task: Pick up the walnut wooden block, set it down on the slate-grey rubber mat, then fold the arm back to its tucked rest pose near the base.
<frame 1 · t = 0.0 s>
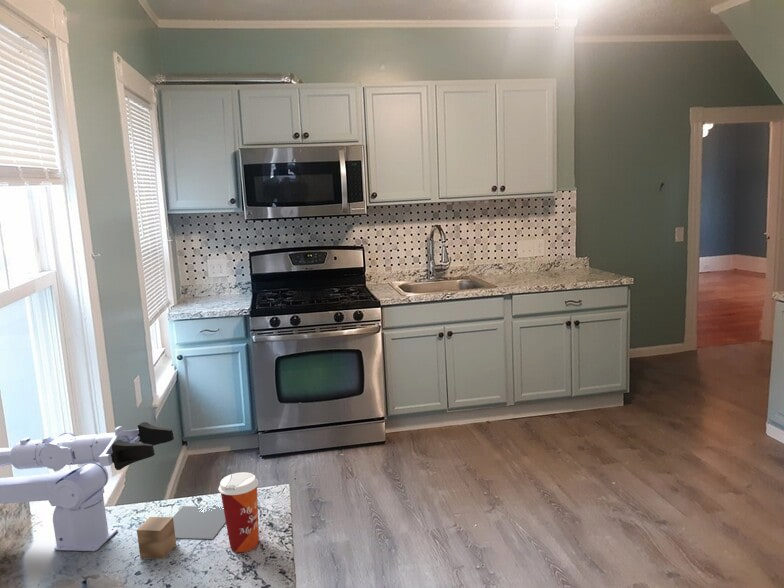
hand: (162, 442, 122), 22 cm above the countertop, tool horizontal, fingers open, 7 cm apart
paper cup: (245, 545, 124), on the countertop
slate mat: (197, 522, 133), on the countertop
walnut block: (158, 551, 123), on the countertop
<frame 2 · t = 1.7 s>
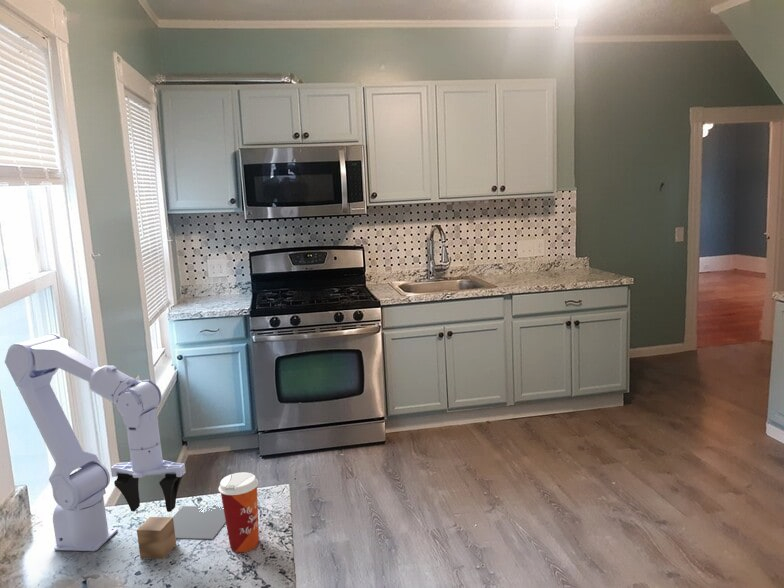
hand: (153, 509, 122), 9 cm above the countertop, tool pointing down, fingers open, 7 cm apart
nothing on the countertop moved.
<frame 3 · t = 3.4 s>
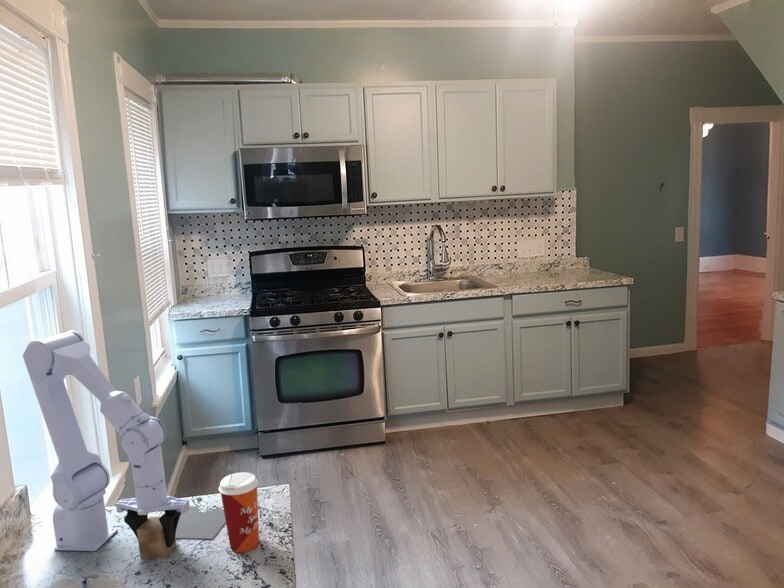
hand: (157, 544, 123), 1 cm above the countertop, tool pointing down, fingers closed on walnut block, 5 cm apart
walnut block: (158, 551, 123), on the countertop, touching gripper
everything else where it was.
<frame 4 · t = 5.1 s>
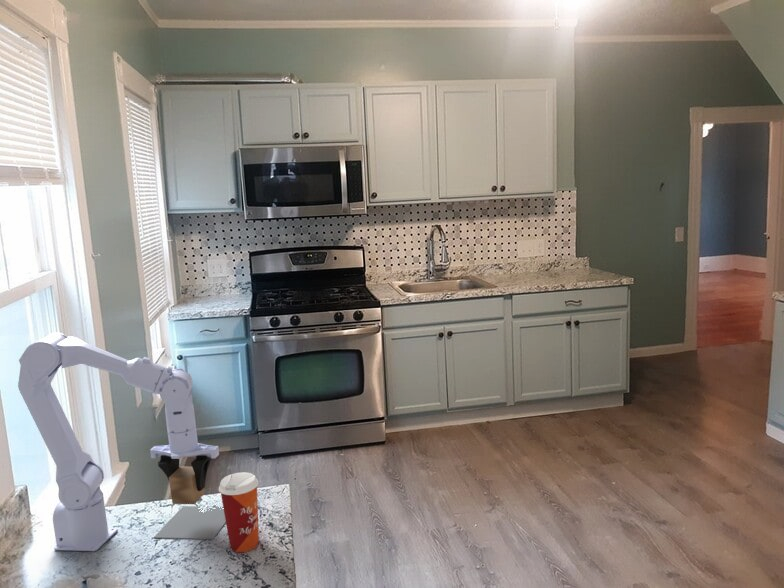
hand: (189, 488, 131), 8 cm above the countertop, tool pointing down, fingers closed on walnut block, 5 cm apart
walnut block: (189, 498, 131), point 7 cm above the countertop, touching gripper
everything else where it was.
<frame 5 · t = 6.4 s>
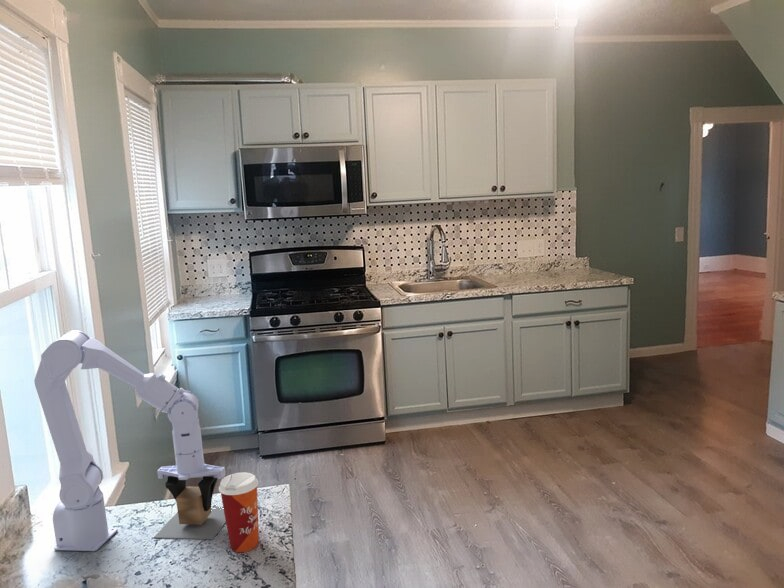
hand: (195, 508, 133), 3 cm above the countertop, tool pointing down, fingers closed on walnut block, 5 cm apart
walnut block: (195, 517, 133), point 1 cm above the countertop, touching gripper
everything else where it was.
when the fingers open (3 cm above the countertop, at t = 7.1 s): walnut block drops 1 cm, resting on slate mat.
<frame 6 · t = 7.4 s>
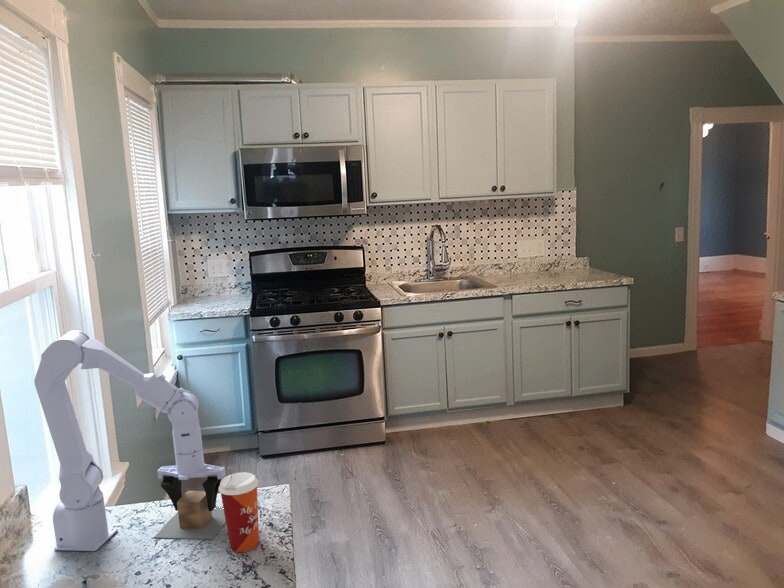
hand: (195, 508, 133), 3 cm above the countertop, tool pointing down, fingers open, 7 cm apart
walnut block: (196, 522, 133), resting on slate mat
everything else where it was.
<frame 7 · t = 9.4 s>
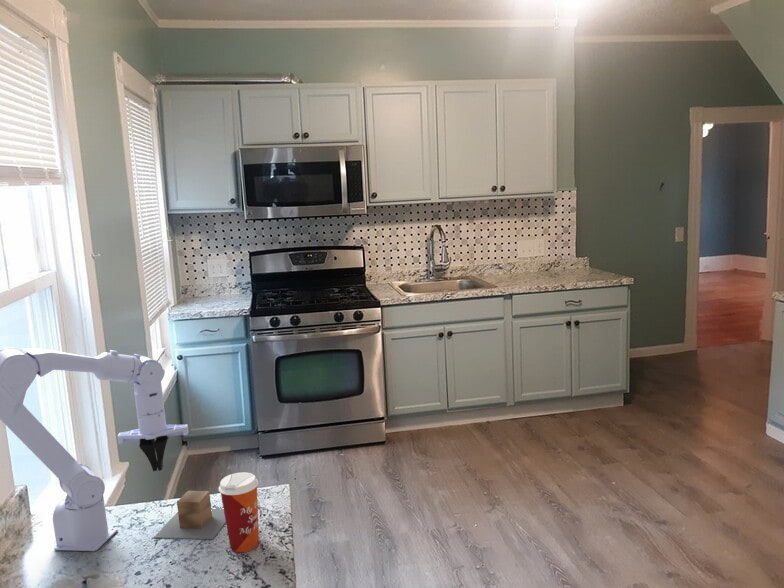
hand: (158, 469, 137), 10 cm above the countertop, tool pointing down, fingers closed
nothing on the countertop moved.
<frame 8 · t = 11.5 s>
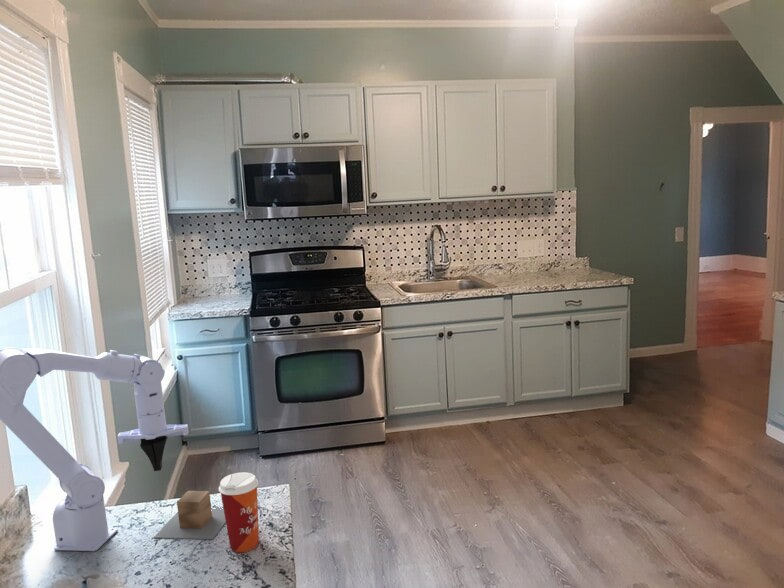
hand: (158, 469, 137), 10 cm above the countertop, tool pointing down, fingers closed
nothing on the countertop moved.
at the end: walnut block inside the target area on the slate mat (0.3 cm from its centre), point 0.2 cm above the slate mat's base; walnut block tilted 0°; the gripper is holding nothing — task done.
